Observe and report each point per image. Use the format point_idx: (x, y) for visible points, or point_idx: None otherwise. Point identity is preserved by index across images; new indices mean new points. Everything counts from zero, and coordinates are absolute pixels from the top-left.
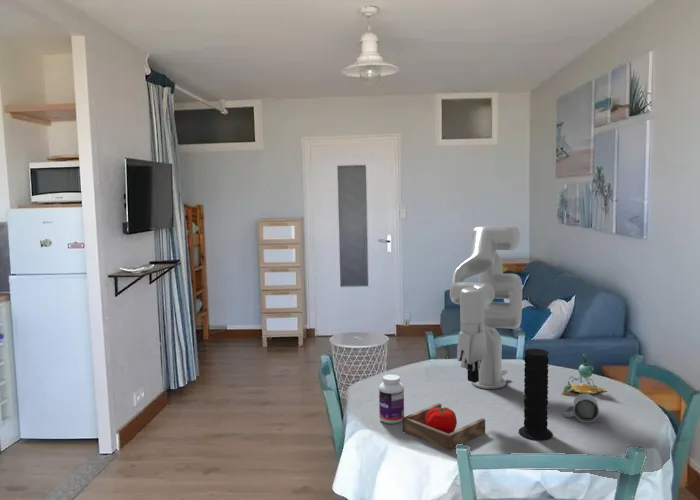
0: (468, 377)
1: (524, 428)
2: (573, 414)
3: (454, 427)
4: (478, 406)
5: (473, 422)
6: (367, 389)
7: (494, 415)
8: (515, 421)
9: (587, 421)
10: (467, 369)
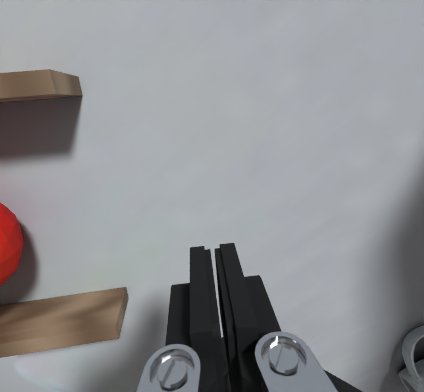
0: (172, 292)
1: (226, 368)
2: (410, 371)
3: None
4: (304, 115)
5: (52, 337)
6: None
7: (273, 216)
8: (280, 286)
9: (405, 382)
10: (158, 362)
